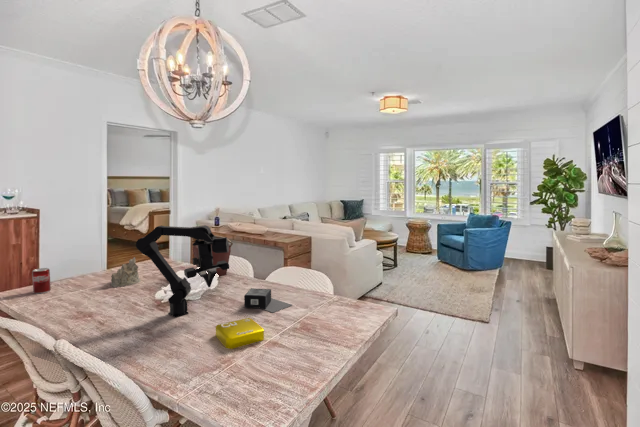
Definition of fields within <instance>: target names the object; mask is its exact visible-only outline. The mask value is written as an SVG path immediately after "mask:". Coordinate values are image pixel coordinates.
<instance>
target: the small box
mask: <svg viewBox="0 0 640 427" xmlns="http://www.w3.org/2000/svg"><path fill="white" fill-rule="evenodd" d="M271 298H272V289H271V288H254V287H253V288H250V289H249V290H248V291H247V292H246V293H245V294H244V298H243V300H244V302H243V304H244V308H248V309H249V308H250V309H260V308H266V307H267V306H268V304H269V303H270V302H271Z"/></svg>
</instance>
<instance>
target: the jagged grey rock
mask: <svg viewBox="0 0 640 427" xmlns="http://www.w3.org/2000/svg"><path fill="white" fill-rule="evenodd" d="M136 261H137V260H136V257H133V258H132V259H129V260H128V262H127V263H123V264H122V265H121V268H119V269H117V272H113V273H112V274H111V278H110V281H111V283H110V286H111V287H112V288H121V287H127V286H128V287H129V286H133V285H137V284H139V283H140V282H141V278H140V277H139V272H138V269H139V266H138V265H137V264H136Z"/></svg>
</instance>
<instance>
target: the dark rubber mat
mask: <svg viewBox="0 0 640 427" xmlns="http://www.w3.org/2000/svg"><path fill="white" fill-rule="evenodd" d="M289 306H290V307H292V306H293V304H291V303H288V302H285V301H282V300H279V299H276V298H274V297H273V298H272V297H271V302H270V303H269V304H268V306H267V307H266V308H259V309H261V310H263V311H266V312H269V313H272V314H274V313H276V311H277V312H280V311H281V309H282V310H284V309H286V308H289Z"/></svg>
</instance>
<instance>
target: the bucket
mask: <svg viewBox="0 0 640 427" xmlns="http://www.w3.org/2000/svg"><path fill="white" fill-rule="evenodd" d="M213 235H214V236H215V237H216V238H224V237H225V236H221V235H217V234H216V235H215V234H213ZM227 240H228V244H229V252H228V253H215V252H213V251H212V256H213V265H216V264H217V262H219V261H226V262H227V263H229V262H230V258H231V257H230V256H231V251H232V250H231V248H232V246H233V245H234V243H233V242H232V241H231V239H229V238H227ZM211 248H212V244H211ZM192 252H193V258H196V257H197V259H199V258H198V257H199V253H198V245H195V246H192ZM195 266H196V268H197V267H198V265H195ZM216 271H217V274H218V275H219V277H218V278H220V277H223V276H227V273H228V269H226V270H222V269H221V268H218V269H216Z"/></svg>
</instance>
